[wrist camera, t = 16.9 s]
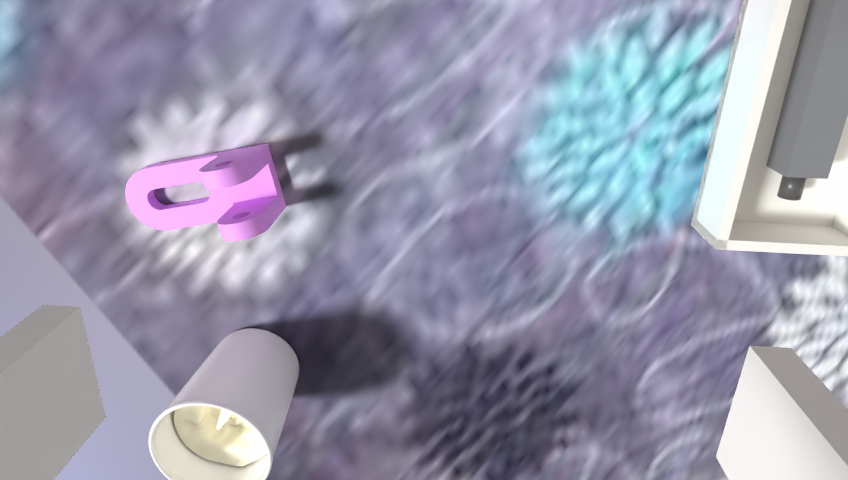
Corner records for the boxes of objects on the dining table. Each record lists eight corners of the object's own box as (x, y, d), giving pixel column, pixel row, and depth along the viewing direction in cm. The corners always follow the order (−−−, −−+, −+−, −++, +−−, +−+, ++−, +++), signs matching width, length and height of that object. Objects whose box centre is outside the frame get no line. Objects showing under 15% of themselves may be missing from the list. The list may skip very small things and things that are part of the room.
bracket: (268, 142, 48) (239, 166, 42) (286, 205, 50) (261, 237, 44) (123, 169, 50) (74, 195, 43) (147, 228, 52) (104, 262, 45)
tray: (832, 231, 48) (871, 257, 44) (690, 224, 49) (714, 249, 44) (994, -244, 36) (1073, -278, 31) (800, -248, 36) (850, -282, 31)
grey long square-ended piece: (799, 191, 46) (822, 205, 43) (758, 190, 46) (778, 203, 43) (906, -170, 37) (945, -184, 34) (854, -171, 37) (888, -185, 34)
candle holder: (198, 321, 55) (133, 404, 44) (299, 318, 54) (259, 401, 43) (219, 404, 59) (164, 500, 48) (314, 403, 58) (280, 499, 47)
